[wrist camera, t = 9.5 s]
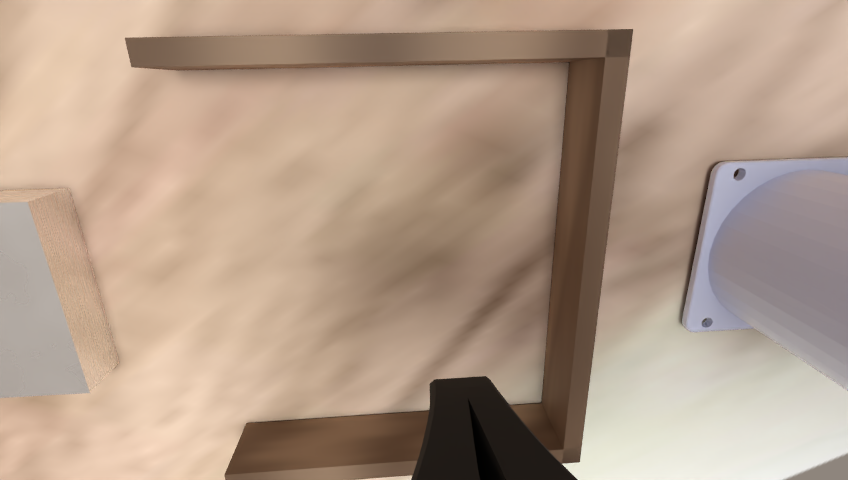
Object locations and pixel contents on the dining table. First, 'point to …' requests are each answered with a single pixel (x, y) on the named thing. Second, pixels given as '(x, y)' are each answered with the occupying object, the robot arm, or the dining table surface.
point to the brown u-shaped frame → (573, 251)
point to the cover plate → (48, 299)
